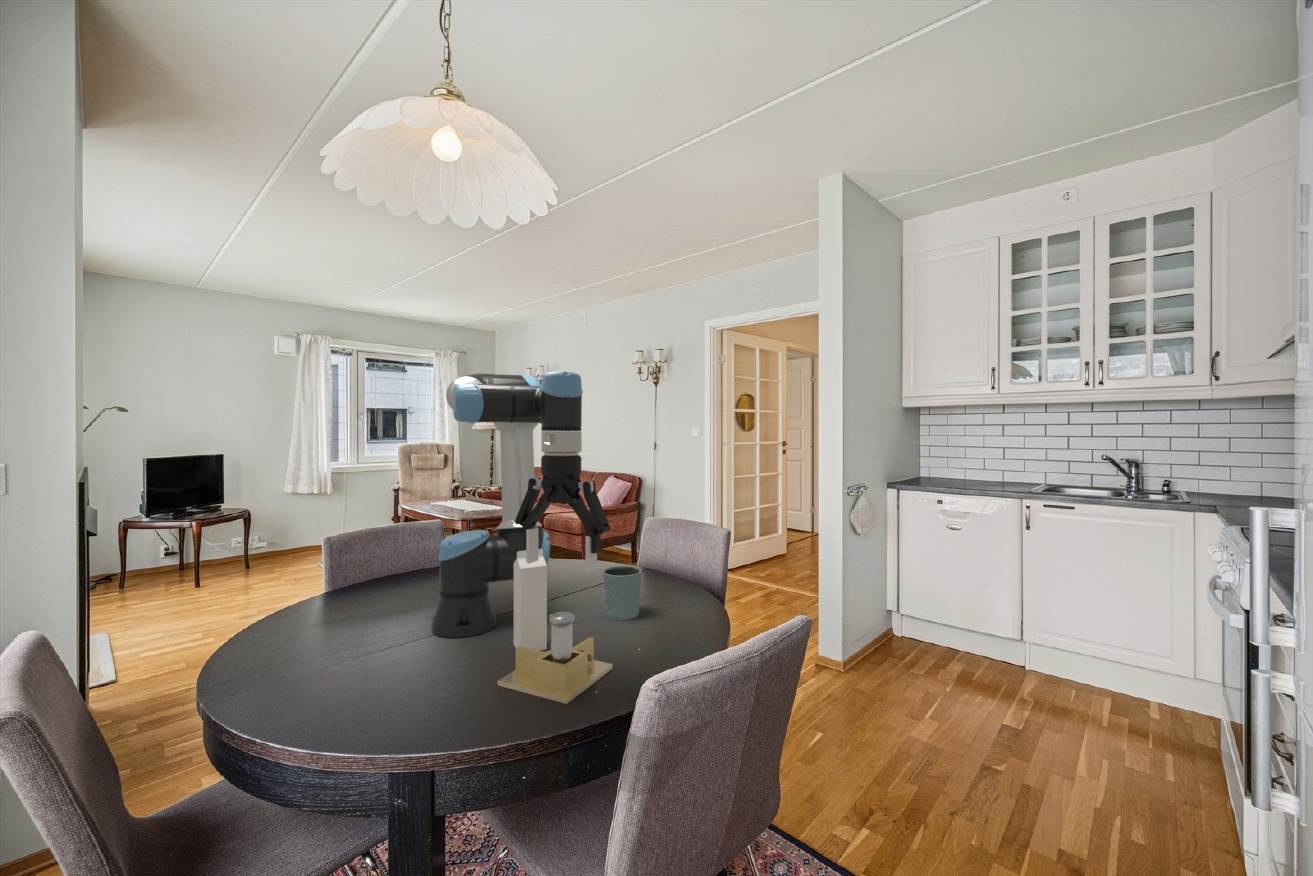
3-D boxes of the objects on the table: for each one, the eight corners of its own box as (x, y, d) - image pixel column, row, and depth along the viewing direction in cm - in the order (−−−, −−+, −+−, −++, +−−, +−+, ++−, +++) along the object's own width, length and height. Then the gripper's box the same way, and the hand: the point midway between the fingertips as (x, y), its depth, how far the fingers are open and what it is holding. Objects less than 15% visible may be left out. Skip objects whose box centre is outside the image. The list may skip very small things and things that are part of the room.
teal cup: (648, 613, 145) (648, 569, 145) (626, 624, 136) (626, 577, 136) (618, 606, 150) (618, 564, 150) (595, 617, 142) (595, 571, 142)
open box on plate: (566, 704, 96) (566, 670, 96) (497, 685, 103) (497, 654, 103) (612, 669, 110) (612, 639, 110) (549, 654, 117) (549, 627, 117)
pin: (543, 685, 101) (543, 617, 101) (558, 675, 105) (559, 610, 105) (564, 691, 99) (564, 621, 98) (579, 680, 103) (579, 614, 103)
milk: (546, 649, 120) (547, 551, 120) (520, 655, 117) (520, 554, 117) (538, 640, 126) (539, 546, 125) (512, 645, 123) (513, 548, 122)
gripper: (496, 453, 104) (496, 562, 104) (607, 456, 93) (607, 579, 93) (522, 451, 110) (522, 554, 111) (628, 455, 100) (628, 569, 100)
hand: (560, 566), depth 102 cm, fingers open, 13 cm apart
